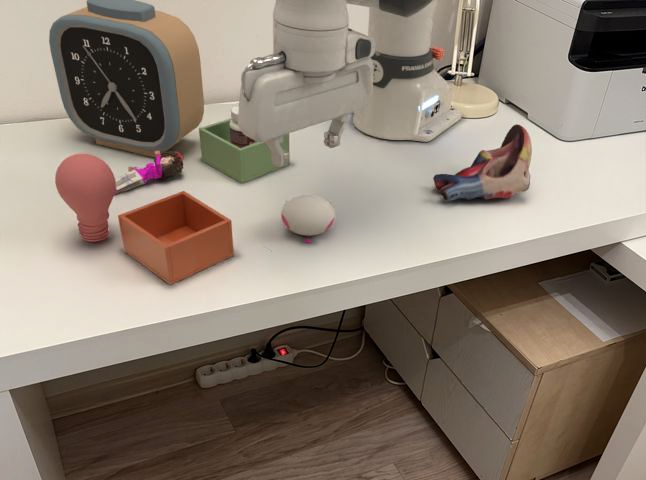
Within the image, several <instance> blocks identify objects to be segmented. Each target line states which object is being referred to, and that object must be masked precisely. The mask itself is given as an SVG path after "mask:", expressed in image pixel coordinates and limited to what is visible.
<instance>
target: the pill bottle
mask: <svg viewBox="0 0 646 480" xmlns="http://www.w3.org/2000/svg"><path fill="white" fill-rule="evenodd" d="M238 111H239V105H234V106H233V107H231V110H230V118H231V119H232V120H231V121H230V124H229V127H230V142H231V143H232V144H233V145H235V146H237V147H239V148H243V147H246V146H249V145H252V144H254V143H257V141H255V140H253V139H251V138H249V137H247V136H246V135H244V134H243V133H242V132H241V130H240V129H239V126H238Z"/></svg>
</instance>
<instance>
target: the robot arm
mask: <svg viewBox="0 0 646 480" xmlns="http://www.w3.org/2000/svg"><path fill="white" fill-rule="evenodd" d="M347 5H354V6H360V7H366V8H369V9H368V21H367V22H368V23H367V24H368V25H367V35H366V34H364V33H362V32H359V31H356V30H354V29H352V28H350V25H349V24H350V18H349V12H348V6H347ZM435 10H436V2H435V0H275V3H274V7H273V11H272V53H271V54H268V55H266V56H263V57H262V56H258V57H254V58H252V59H251V60H250V62H249V64H247V65H246V66H245V68H244V70H243V71H242V72H241V75H240V82H241V84H240V90H239V98H238V106H239V111H238V126H239V129H240V130H241V132H242V133H243V134H244V135H246V136H247V137H249V138H251V139H253V140H255V141H257V142H264V141H265V142H266V144H267V146H268V147H269V149H270V151H271V161H272V164H273V165H275V166H277V167H282V166H285V165H287V164H288V163H289V162H290V151H289V152H287V151H284V150H283V149H282V148H281V146H280V143H282V142H283V135H285V134H288V133H289V134H291V133H294V132H297V131H300V130H303V129H306V128H309V127H313V126H316V125H318V124H321V123H325V122H328V121H331V122H330V125H329V127H328V130H327V131H324V133H323V138H324V139H323V144H324V146H325V147H328V148H329V149H333V148H336V147H339V146H341V141H342V139H341V138H342V134H343V132H344V130H345V129H346V127H347V124H348V123H349V122H348V121H349V115H350V114H352V113H353V118H352V124H353V125H354V127H355V128H356V129H357V130H359V131H360V132H362V133H364V134H366V135H368V136H371V137H374V138H378V139H382V140H383V139H384V140H389V141H390V140H391V141H414V142H415V141H416V142H421V143H423V142H424V143H426V142H427V143H428V142H431V141H433V140H434V139H435V138H436V137H438V136H439V135H441V134H442V133H443V132H445V131H446V130H447V129H450V127H452V126H453V125H454V124H456V123H457V122H459V121H460V120H462V112H461V111H460V110H459V109H457V108H456V107H455V108H456V109H455V108H452V107H451V106H452V96H453V95H452V94H453V91H452V87H451V85H450V83H449V82H448V81H447V80H446V79H445V77H446V76H447V75H450V74H449V73H447V70H445V71H443V72H442V73H440V74H439V72H437V70H436V69H435V65H434V59H435V60H437V61H442V60H443V58H444V55H445V50H444V48H441V47H437V46H435V45H433V46H432V47H431V41H432V36H433V34H432V33H433V26H434V21H435V20H434V19H435V18H434V17H435ZM288 158H289V160H288ZM287 166H288V165H287ZM285 167H286V166H285ZM282 168H283V167H282Z"/></svg>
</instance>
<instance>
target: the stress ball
mask: <svg viewBox="0 0 646 480" xmlns="http://www.w3.org/2000/svg"><path fill="white" fill-rule="evenodd" d="M280 218H281V222H282V223H283V224H284V226H285V227H286V228H287V229H288V230H289V231H290V232H293V233H294V234H297V235H301V236H307V238H306V240H305V241H304V244H312V242H311V241H310V240H309V237H311V236H317V235H321V234H323V233H325V232H327V231H328V230H329V229H330V228H331V227H332V226H333V224H334V222H335V219H336V213H335V210H334V208H333V206H332V205H331V202H328V201H327V200H326V199H324V198H322V197H320V196H317V195H312V194H303V195H297V196H295V197H292V198H290V199H289V200H286V199H285V203H284V204H283V206H282V208H281V210H280Z"/></svg>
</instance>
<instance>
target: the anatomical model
mask: <svg viewBox="0 0 646 480" xmlns="http://www.w3.org/2000/svg"><path fill="white" fill-rule="evenodd" d="M532 153H533V149H532V141H531V137H530V135H529V132H528V130H527V129H526V128H525V127H524V126H522V125H520V124H517V123H516V124H514V125H512V126H511V127H510V129H509V130H508V132H507V133H506V135H505V136H504V139H503V140H502V143H501V145H500V147H498V148H495V149H490V150H485V149H482V150H480V151H479V152H478V153H477V155H476V157H475V159H474V160H473V161H472V163H471V165H470V166H468V167H466V168H463V169H461V170H460V171H457V172H456V173H455V174H448V173H437V174H435V175H434V176H433V178H432V180H433V182H434V186H435V190H437V191H438V192H439V194H440V196H441V197H442V198H443V199H444V201H446V202H448V203H449V202H451V201H454V200H458V199H465V200H473V199H475V198H478V197H479V198H482V199H484V200H490V199H509V198H511V197H512V196H513V195H515V194H517V193H521V192H526V191H528V190H529V189H530V186H531V174H530V165H531V161H532Z"/></svg>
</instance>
